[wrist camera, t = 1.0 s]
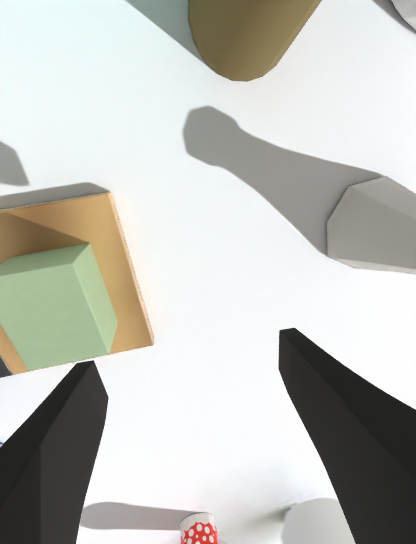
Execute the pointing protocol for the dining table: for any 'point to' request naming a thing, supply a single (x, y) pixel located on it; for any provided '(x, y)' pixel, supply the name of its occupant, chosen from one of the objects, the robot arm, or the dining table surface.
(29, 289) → the sage block
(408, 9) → the utensil holder
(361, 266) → the flask
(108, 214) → the board
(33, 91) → the dining table surface
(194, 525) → the beverage cup
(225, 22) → the cork
